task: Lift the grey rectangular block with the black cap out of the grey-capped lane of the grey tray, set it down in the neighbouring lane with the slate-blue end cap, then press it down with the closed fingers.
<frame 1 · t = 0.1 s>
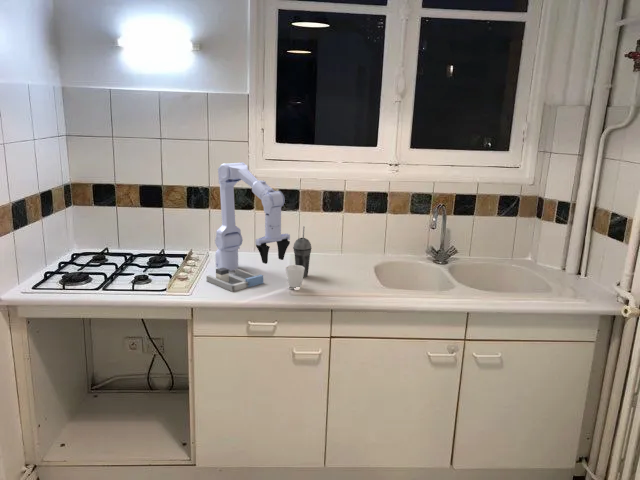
hand: (273, 261, 195), 10 cm above the countertop, tool pointing down, fingers open, 7 cm apart
grey tray: (235, 284, 200), on the countertop
grey rectangular block: (222, 282, 199), point 1 cm above the countertop, touching grey tray
cup: (295, 287, 199), on the countertop
beverage cup: (301, 276, 212), on the countertop
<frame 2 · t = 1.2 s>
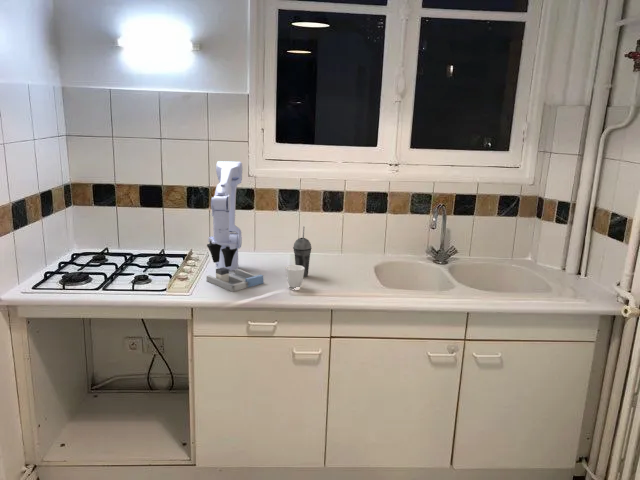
hand: (222, 264, 197), 8 cm above the countertop, tool pointing down, fingers open, 7 cm apart
nothing on the countertop moved.
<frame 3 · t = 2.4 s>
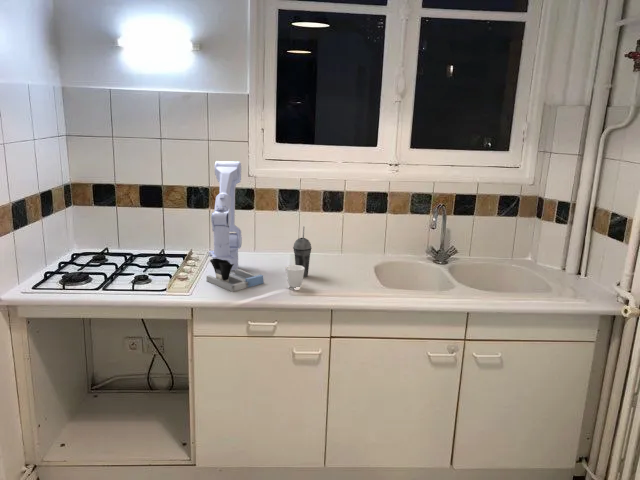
hand: (222, 278, 199), 2 cm above the countertop, tool pointing down, fingers closed on grey rectangular block, 3 cm apart
grey rectangular block: (222, 282, 199), point 1 cm above the countertop, touching grey tray, gripper
everything else where it was.
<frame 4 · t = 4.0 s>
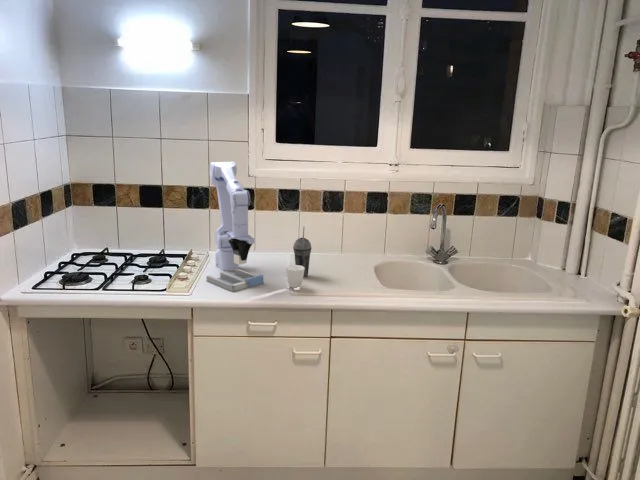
hand: (240, 258, 200), 9 cm above the countertop, tool pointing down, fingers closed on grey rectangular block, 3 cm apart
grey rectangular block: (240, 262, 200), point 8 cm above the countertop, touching gripper
everything else where it was.
when the fingers open (3 cm above the countertop, at t = 5.6 s): grey rectangular block stays where it is, resting on grey tray.
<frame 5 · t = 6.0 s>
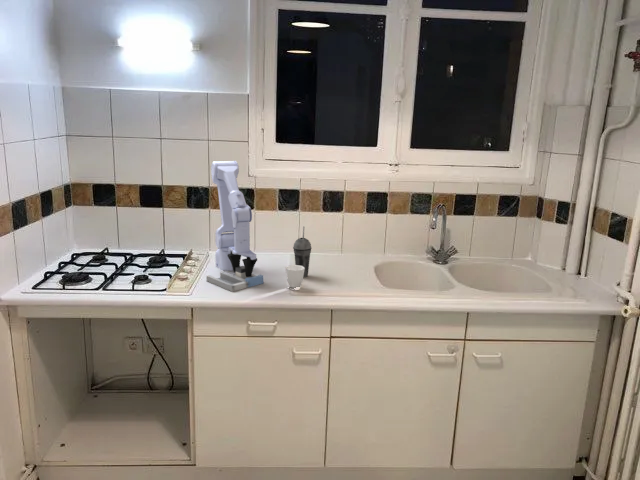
hand: (242, 274, 201), 3 cm above the countertop, tool pointing down, fingers open, 7 cm apart
grey rectangular block: (242, 280, 202), point 1 cm above the countertop, touching grey tray
everything else where it was.
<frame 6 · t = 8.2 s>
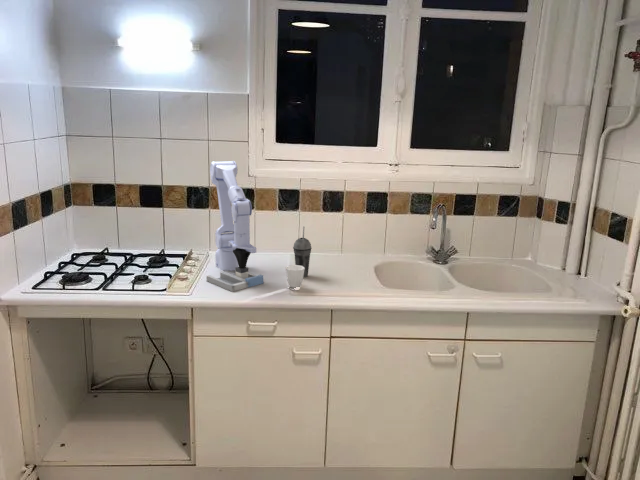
hand: (242, 267, 201), 6 cm above the countertop, tool pointing down, fingers closed, pressing on grey rectangular block
grey rectangular block: (242, 280, 202), point 1 cm above the countertop, touching grey tray, gripper
everything else where it was.
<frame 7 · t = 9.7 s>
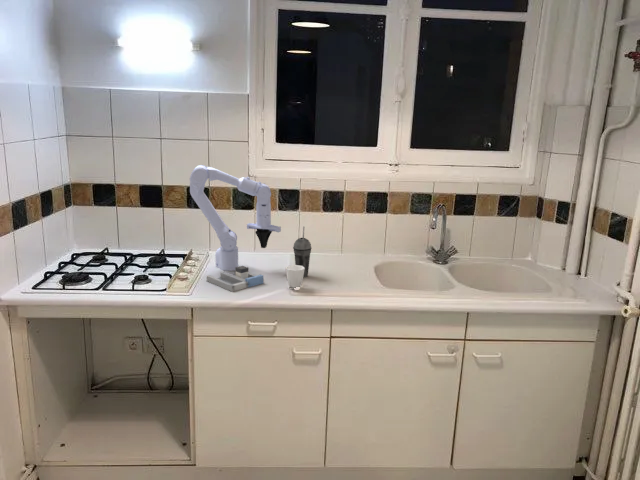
hand: (263, 247, 216), 9 cm above the countertop, tool pointing down, fingers closed
grey rectangular block: (242, 280, 202), point 1 cm above the countertop, touching grey tray
everything else where it was.
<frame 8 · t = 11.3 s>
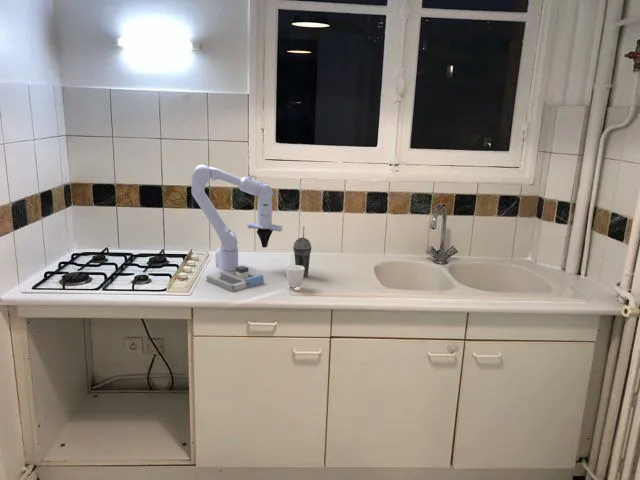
hand: (264, 246, 217), 9 cm above the countertop, tool pointing down, fingers closed
nothing on the countertop moved.
at the end: grey rectangular block 0.3 cm from the target spot on the grey tray, point 1.0 cm above the grey tray's base; grey rectangular block tilted 0°; the gripper is holding nothing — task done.
